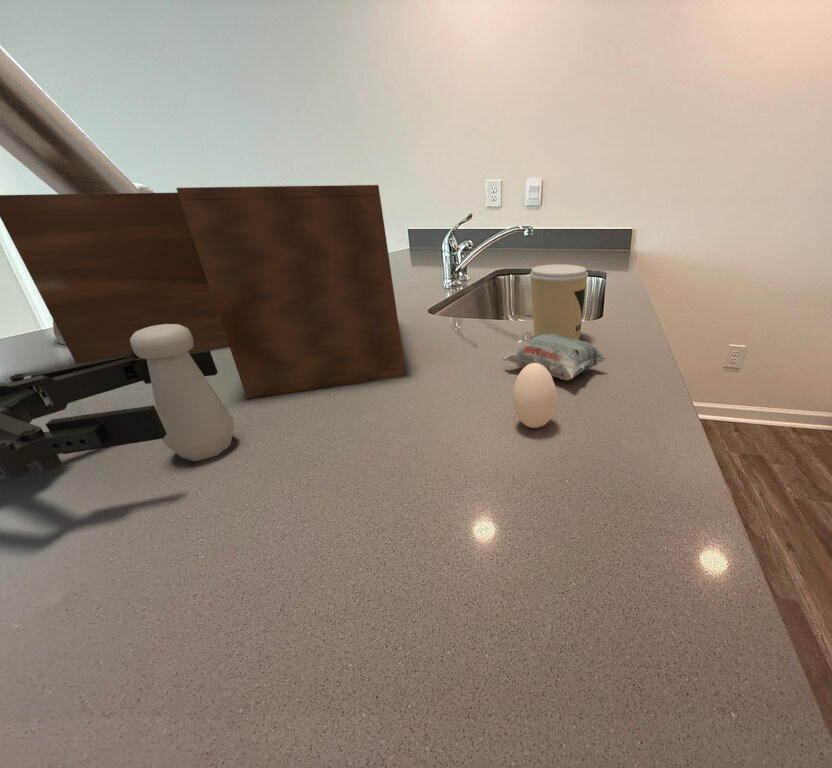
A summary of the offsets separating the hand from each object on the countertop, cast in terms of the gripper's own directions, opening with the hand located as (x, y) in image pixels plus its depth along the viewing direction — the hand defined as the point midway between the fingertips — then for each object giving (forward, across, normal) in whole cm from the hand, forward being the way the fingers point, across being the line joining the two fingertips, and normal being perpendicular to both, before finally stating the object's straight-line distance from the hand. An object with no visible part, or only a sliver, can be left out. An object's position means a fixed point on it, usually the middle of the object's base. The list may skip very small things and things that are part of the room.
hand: (190, 387), depth 39 cm
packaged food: (+40, -6, -7) cm, 41 cm away
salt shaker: (-1, 0, -7) cm, 7 cm away
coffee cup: (+46, -18, -7) cm, 51 cm away
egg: (+32, +7, -7) cm, 34 cm away
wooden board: (+10, -25, -7) cm, 28 cm away
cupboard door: (-14, -37, -7) cm, 40 cm away
